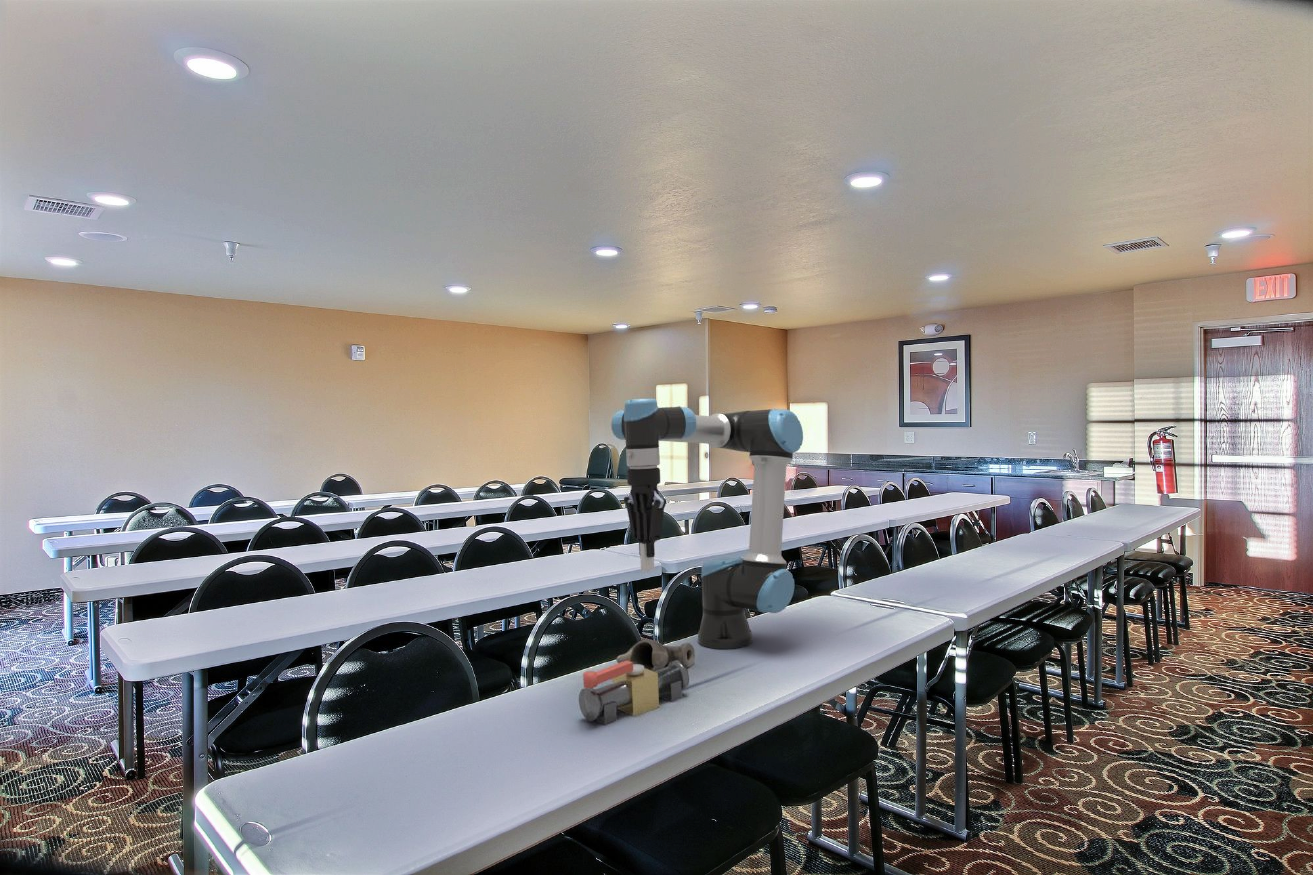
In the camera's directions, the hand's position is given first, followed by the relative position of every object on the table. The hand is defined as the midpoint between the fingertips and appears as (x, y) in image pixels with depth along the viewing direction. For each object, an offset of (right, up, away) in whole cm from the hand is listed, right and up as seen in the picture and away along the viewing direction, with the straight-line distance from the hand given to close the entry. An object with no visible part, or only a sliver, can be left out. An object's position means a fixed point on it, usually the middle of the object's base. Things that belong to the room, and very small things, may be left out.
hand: (647, 571), depth 169 cm
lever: (-7, -21, -11) cm, 25 cm away
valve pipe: (-2, -29, -6) cm, 29 cm away
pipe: (+2, -28, +18) cm, 34 cm away
